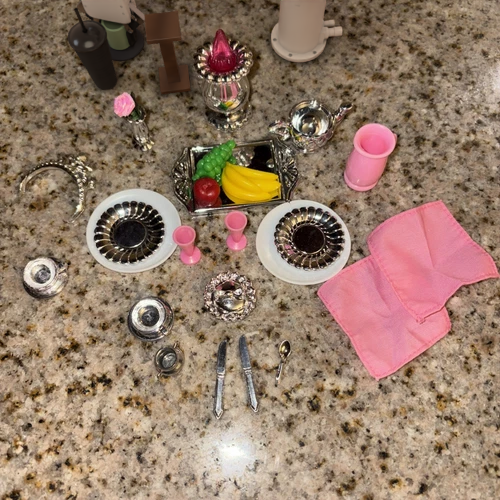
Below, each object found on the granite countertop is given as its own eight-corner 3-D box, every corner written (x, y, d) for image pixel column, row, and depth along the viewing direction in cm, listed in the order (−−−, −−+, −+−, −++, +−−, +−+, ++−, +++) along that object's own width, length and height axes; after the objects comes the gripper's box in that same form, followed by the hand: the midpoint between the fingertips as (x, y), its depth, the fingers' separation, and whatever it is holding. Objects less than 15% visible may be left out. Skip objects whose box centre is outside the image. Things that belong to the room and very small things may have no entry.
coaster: (142, 23, 114) (142, 22, 114) (145, 58, 111) (145, 57, 110) (99, 28, 114) (98, 27, 113) (101, 63, 110) (100, 62, 110)
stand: (187, 67, 110) (177, 10, 95) (190, 91, 108) (180, 37, 93) (159, 70, 110) (144, 14, 94) (161, 94, 107) (146, 40, 92)
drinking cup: (121, 95, 107) (94, 26, 88) (87, 95, 107) (51, 25, 89) (125, 67, 110) (99, -7, 91) (91, 66, 110) (58, -7, 91)
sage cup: (132, 29, 112) (126, 9, 107) (133, 48, 110) (127, 29, 105) (107, 31, 112) (100, 12, 107) (108, 51, 110) (101, 32, 105)
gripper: (145, -38, 94) (161, 33, 111) (61, -54, 96) (90, 18, 113) (133, -9, 92) (151, 59, 109) (47, -26, 93) (78, 44, 110)
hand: (119, 38), depth 111 cm, fingers closed on sage cup, 5 cm apart
